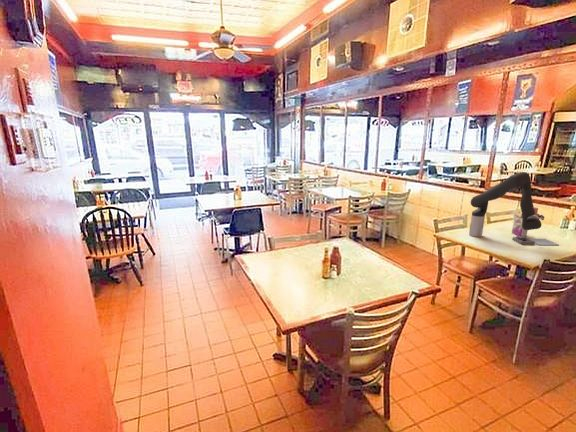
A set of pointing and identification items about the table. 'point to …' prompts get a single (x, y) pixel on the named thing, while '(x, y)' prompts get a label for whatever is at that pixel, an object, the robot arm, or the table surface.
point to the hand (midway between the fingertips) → (532, 214)
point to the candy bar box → (518, 226)
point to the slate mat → (543, 242)
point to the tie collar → (518, 239)
